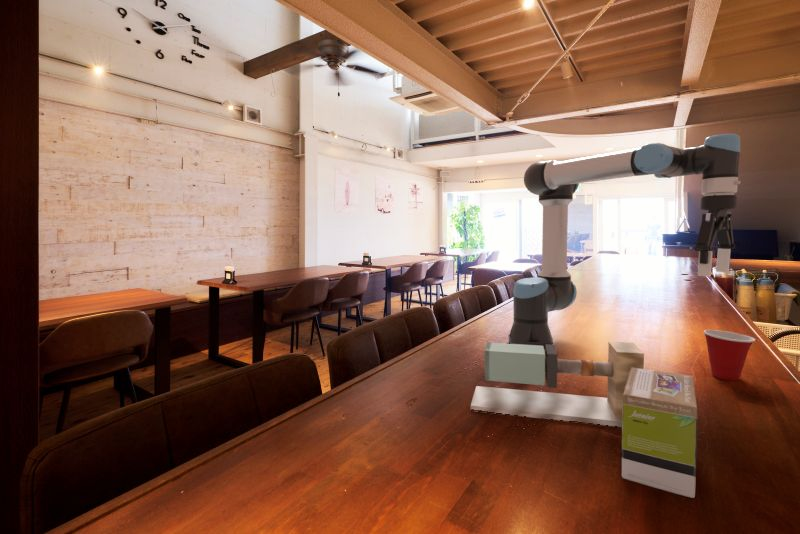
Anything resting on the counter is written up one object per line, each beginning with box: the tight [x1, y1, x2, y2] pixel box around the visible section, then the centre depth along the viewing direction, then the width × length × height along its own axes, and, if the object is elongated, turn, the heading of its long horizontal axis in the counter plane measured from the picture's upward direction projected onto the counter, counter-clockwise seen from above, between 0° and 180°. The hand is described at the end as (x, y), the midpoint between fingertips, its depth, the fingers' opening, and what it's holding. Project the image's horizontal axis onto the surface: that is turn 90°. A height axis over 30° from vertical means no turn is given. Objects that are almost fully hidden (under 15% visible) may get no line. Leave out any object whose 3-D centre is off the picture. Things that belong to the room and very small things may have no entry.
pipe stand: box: [470, 341, 645, 428], centre depth 90 cm, size 36×12×15 cm, turn 73°
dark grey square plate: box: [544, 344, 558, 389], centre depth 90 cm, size 2×8×8 cm, turn 163°
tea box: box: [621, 367, 698, 499], centre depth 68 cm, size 15×10×15 cm, turn 145°
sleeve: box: [484, 342, 546, 386], centre depth 93 cm, size 13×7×7 cm, turn 73°
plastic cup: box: [703, 329, 756, 381], centre depth 107 cm, size 11×11×12 cm
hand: (713, 274), depth 108 cm, fingers open, 13 cm apart
